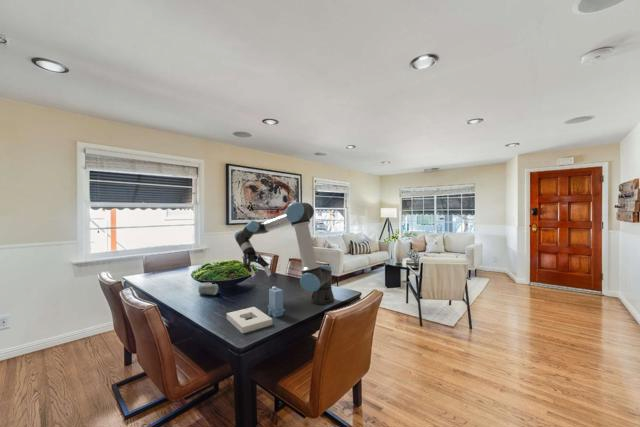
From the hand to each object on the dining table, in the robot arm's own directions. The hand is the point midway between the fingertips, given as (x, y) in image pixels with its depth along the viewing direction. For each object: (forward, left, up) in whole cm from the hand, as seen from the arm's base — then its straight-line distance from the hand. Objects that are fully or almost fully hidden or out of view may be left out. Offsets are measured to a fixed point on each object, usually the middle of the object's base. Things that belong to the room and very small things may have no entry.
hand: (262, 275), depth 169 cm
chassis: (-9, +26, -17) cm, 33 cm away
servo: (-17, +12, -18) cm, 28 cm away
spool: (+45, -1, -18) cm, 48 cm away
